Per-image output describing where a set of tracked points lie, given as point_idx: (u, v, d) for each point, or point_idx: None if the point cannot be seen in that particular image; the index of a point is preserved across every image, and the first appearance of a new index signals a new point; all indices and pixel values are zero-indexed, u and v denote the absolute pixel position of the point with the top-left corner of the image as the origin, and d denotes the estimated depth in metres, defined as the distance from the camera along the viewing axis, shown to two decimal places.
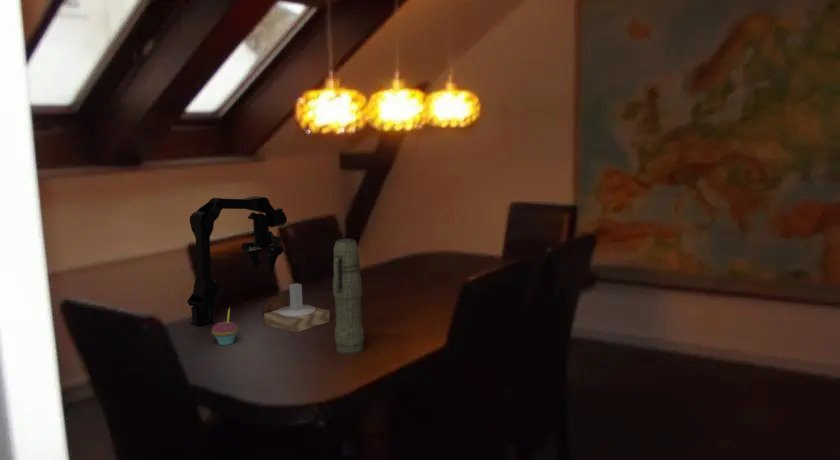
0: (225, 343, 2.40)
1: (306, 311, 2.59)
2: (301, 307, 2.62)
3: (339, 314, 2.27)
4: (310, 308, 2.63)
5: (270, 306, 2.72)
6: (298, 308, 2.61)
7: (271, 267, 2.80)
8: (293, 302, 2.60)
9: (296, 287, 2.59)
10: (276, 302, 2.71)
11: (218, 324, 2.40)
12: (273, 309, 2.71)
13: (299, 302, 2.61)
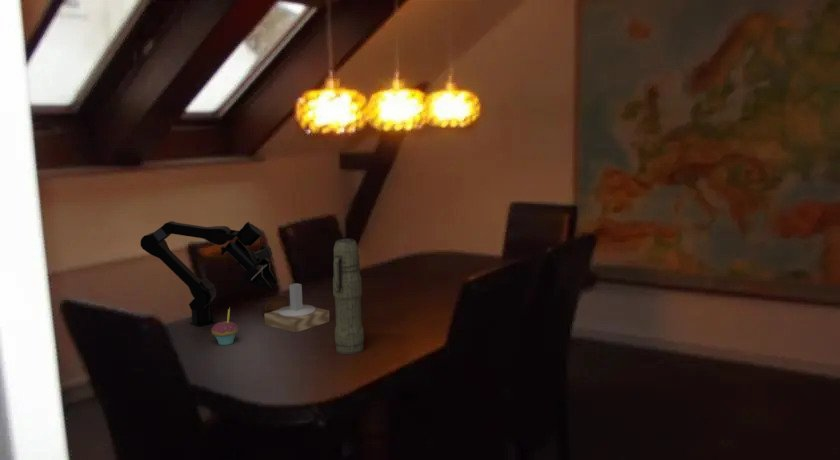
0: (225, 343, 2.40)
1: (306, 311, 2.59)
2: (301, 307, 2.62)
3: (339, 314, 2.27)
4: (310, 308, 2.63)
5: (270, 306, 2.72)
6: (298, 308, 2.61)
7: (266, 287, 2.57)
8: (293, 302, 2.60)
9: (296, 287, 2.59)
10: (276, 302, 2.71)
11: (218, 324, 2.40)
12: (273, 309, 2.72)
13: (299, 302, 2.61)
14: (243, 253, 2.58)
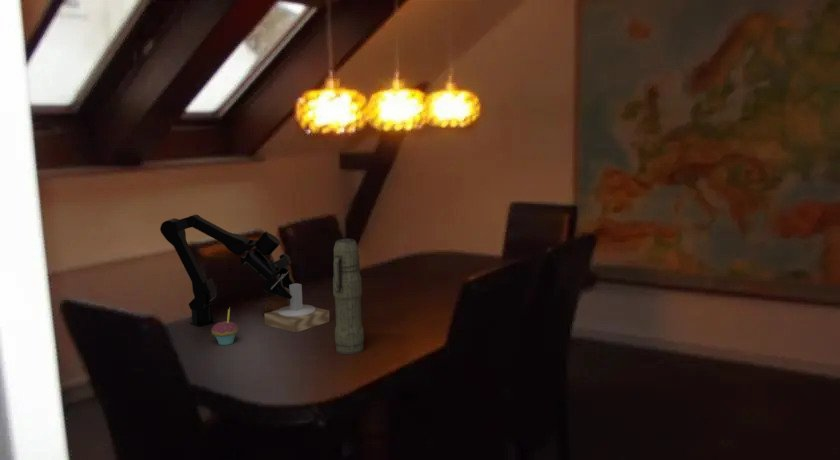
0: (225, 343, 2.40)
1: (306, 311, 2.59)
2: (301, 307, 2.62)
3: (339, 314, 2.27)
4: (310, 308, 2.63)
5: (270, 306, 2.72)
6: (298, 308, 2.61)
7: (286, 296, 2.56)
8: (293, 302, 2.60)
9: (296, 287, 2.59)
10: (276, 302, 2.71)
11: (218, 324, 2.40)
12: (273, 309, 2.72)
13: (299, 302, 2.61)
14: (262, 263, 2.58)
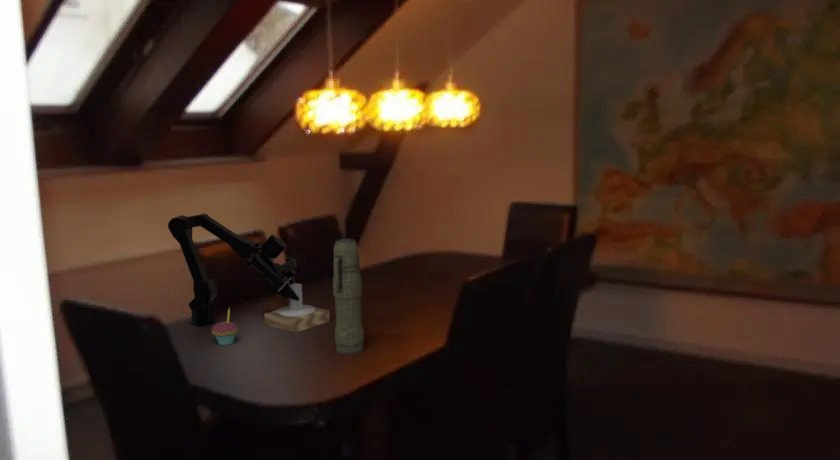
0: (225, 343, 2.40)
1: (306, 311, 2.59)
2: (301, 307, 2.62)
3: (339, 314, 2.27)
4: (310, 308, 2.63)
5: (270, 306, 2.72)
6: (298, 308, 2.61)
7: (293, 298, 2.58)
8: (293, 302, 2.60)
9: (296, 287, 2.59)
10: (276, 302, 2.71)
11: (218, 324, 2.40)
12: (273, 309, 2.72)
13: (299, 302, 2.61)
14: (268, 266, 2.58)
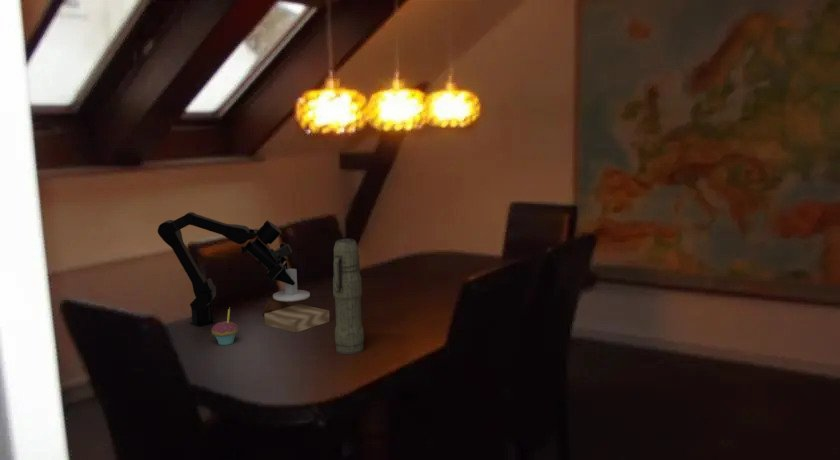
0: (225, 343, 2.40)
1: (302, 295, 2.63)
2: (296, 292, 2.66)
3: (339, 314, 2.27)
4: (304, 292, 2.67)
5: (270, 306, 2.72)
6: (293, 292, 2.64)
7: (289, 282, 2.62)
8: (288, 287, 2.64)
9: (292, 272, 2.63)
10: (276, 302, 2.71)
11: (218, 324, 2.40)
12: (273, 309, 2.72)
13: (295, 287, 2.65)
14: (264, 251, 2.60)
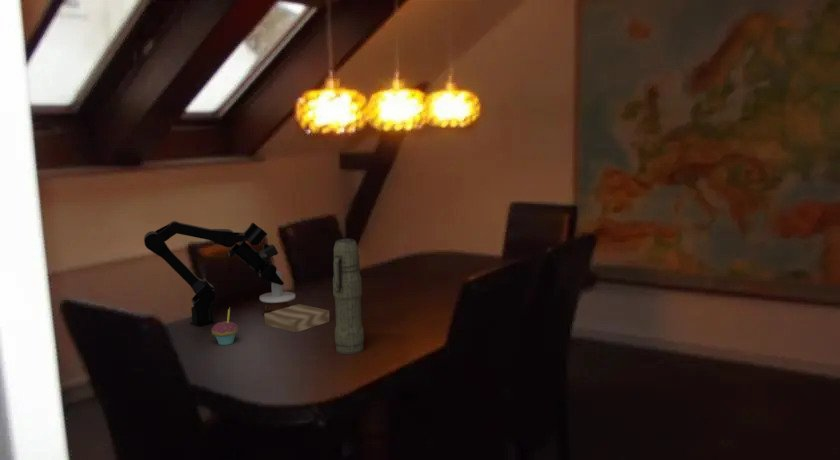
0: (225, 343, 2.40)
1: (290, 296, 2.73)
2: (282, 293, 2.75)
3: (339, 314, 2.27)
4: (289, 293, 2.77)
5: (270, 306, 2.72)
6: (280, 294, 2.73)
7: (279, 282, 2.69)
8: (276, 289, 2.72)
9: (279, 274, 2.72)
10: None
11: (218, 324, 2.40)
12: (273, 309, 2.72)
13: (281, 288, 2.74)
14: (252, 253, 2.66)
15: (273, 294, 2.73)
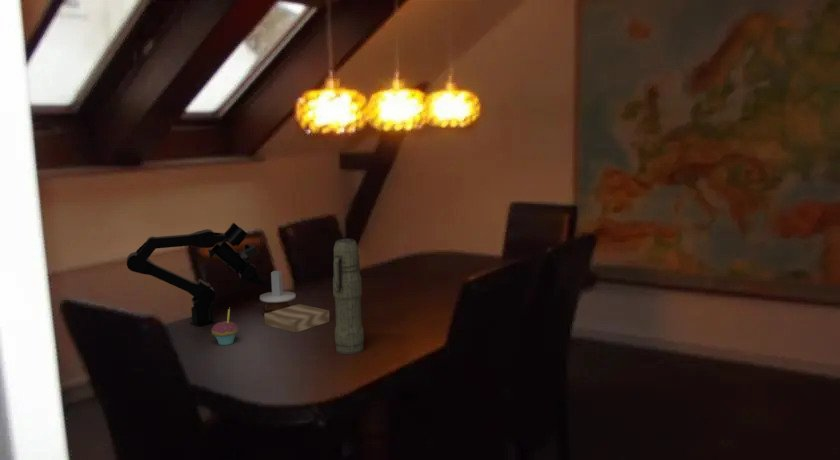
0: (225, 343, 2.40)
1: (290, 295, 2.74)
2: (282, 293, 2.75)
3: (339, 314, 2.27)
4: (289, 293, 2.77)
5: (270, 306, 2.73)
6: (280, 293, 2.74)
7: (260, 283, 2.66)
8: (276, 288, 2.73)
9: (279, 274, 2.72)
10: None
11: (218, 324, 2.40)
12: (273, 309, 2.72)
13: (281, 288, 2.74)
14: (233, 253, 2.63)
15: (273, 294, 2.73)
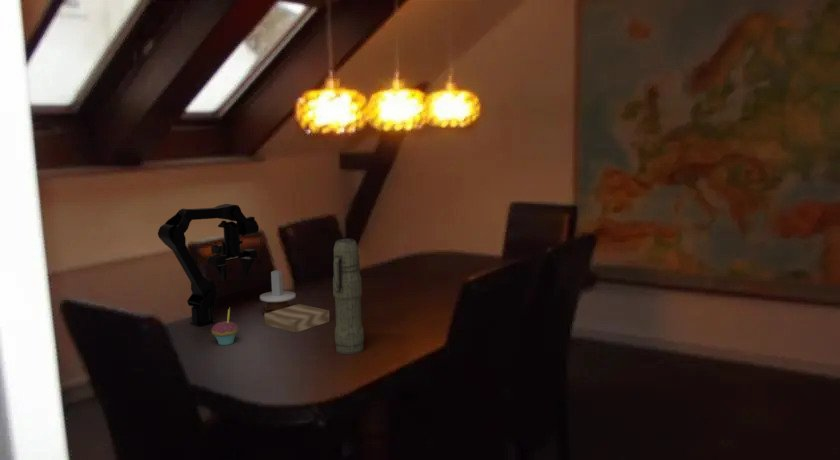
0: (225, 343, 2.40)
1: (290, 295, 2.74)
2: (282, 292, 2.76)
3: (339, 314, 2.27)
4: (289, 292, 2.78)
5: (270, 305, 2.73)
6: (280, 293, 2.74)
7: None
8: (276, 288, 2.73)
9: (279, 273, 2.73)
10: None
11: (218, 324, 2.40)
12: (273, 308, 2.73)
13: (281, 288, 2.75)
14: None
15: (273, 293, 2.74)
